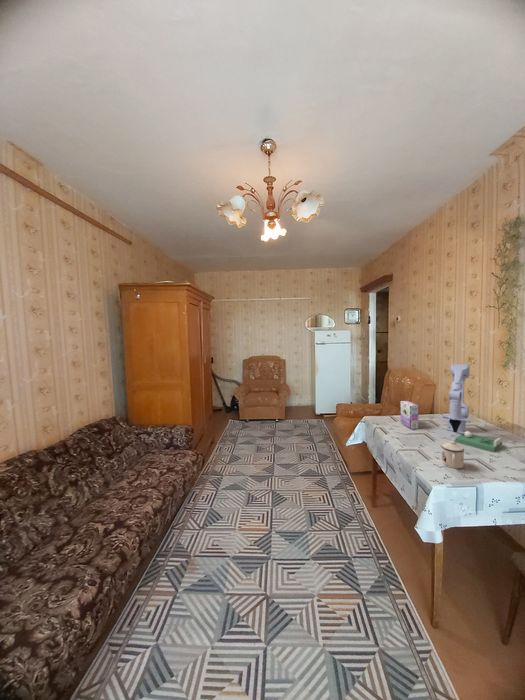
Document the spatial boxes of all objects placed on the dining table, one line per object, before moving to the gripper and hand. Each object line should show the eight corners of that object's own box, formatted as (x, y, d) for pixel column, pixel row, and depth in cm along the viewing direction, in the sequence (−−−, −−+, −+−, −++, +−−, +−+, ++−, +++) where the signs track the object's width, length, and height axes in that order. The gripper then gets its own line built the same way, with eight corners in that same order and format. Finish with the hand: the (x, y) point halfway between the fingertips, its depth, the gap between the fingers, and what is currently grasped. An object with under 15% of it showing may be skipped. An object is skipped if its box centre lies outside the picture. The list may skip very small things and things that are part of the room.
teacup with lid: (441, 459, 141) (441, 436, 140) (463, 462, 136) (463, 439, 136) (442, 469, 131) (442, 445, 130) (465, 473, 126) (465, 448, 125)
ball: (463, 437, 162) (463, 431, 162) (465, 435, 164) (465, 429, 164) (470, 438, 159) (470, 432, 159) (472, 437, 161) (472, 431, 161)
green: (455, 442, 161) (455, 434, 161) (464, 436, 169) (464, 428, 169) (495, 452, 146) (495, 443, 146) (503, 445, 154) (503, 437, 154)
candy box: (419, 429, 184) (418, 405, 183) (410, 429, 184) (410, 405, 184) (408, 422, 198) (408, 400, 197) (400, 423, 198) (400, 400, 197)
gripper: (439, 408, 170) (439, 430, 171) (466, 413, 158) (466, 436, 159) (444, 406, 174) (444, 427, 175) (471, 411, 162) (471, 434, 163)
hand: (455, 431), depth 167 cm, fingers closed
